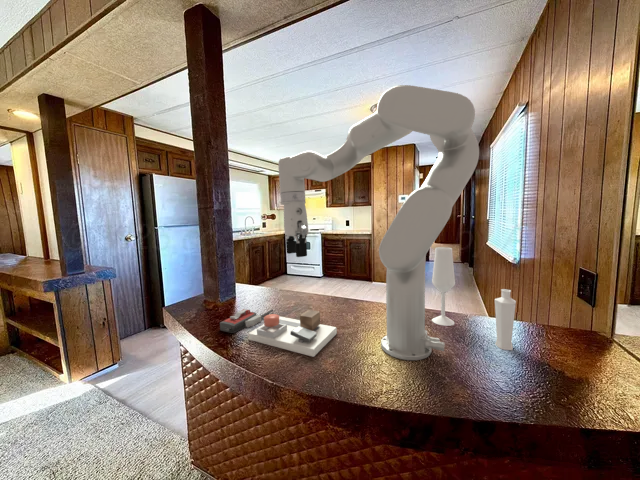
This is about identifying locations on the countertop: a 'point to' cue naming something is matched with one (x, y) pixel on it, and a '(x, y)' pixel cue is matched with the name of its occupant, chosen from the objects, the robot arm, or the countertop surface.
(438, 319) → the champagne flute
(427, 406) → the countertop surface
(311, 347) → the control panel
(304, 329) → the rocker switch
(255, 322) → the gray red lever tool
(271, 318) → the push button
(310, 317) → the slider knob
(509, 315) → the perfume bottle
